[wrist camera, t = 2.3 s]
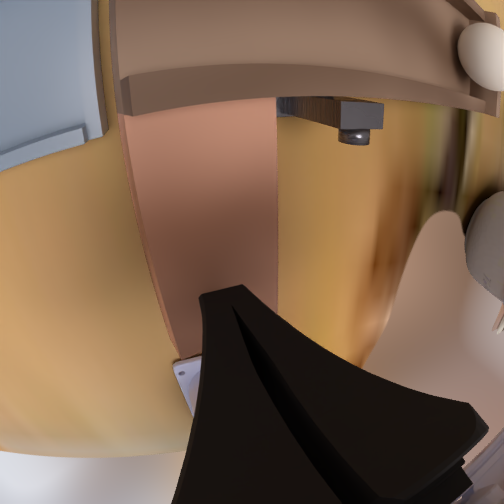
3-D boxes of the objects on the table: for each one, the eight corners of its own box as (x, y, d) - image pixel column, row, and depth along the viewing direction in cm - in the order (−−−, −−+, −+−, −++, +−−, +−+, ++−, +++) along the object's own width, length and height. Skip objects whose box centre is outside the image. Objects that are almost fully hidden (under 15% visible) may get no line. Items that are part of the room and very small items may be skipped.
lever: (441, 211, 19) (477, 229, 17) (170, 338, 11) (206, 402, 9) (457, 11, 11) (499, 17, 9) (115, -96, 3) (147, -160, 1)
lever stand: (327, 120, 15) (400, 144, 11) (257, 124, 14) (316, 148, 10) (319, -54, 9) (388, -84, 5) (247, -66, 8) (301, -115, 4)
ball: (471, 86, 13) (527, 103, 10) (445, 77, 11) (513, 94, 8) (471, 29, 11) (527, 40, 8) (444, 10, 9) (511, 18, 6)
